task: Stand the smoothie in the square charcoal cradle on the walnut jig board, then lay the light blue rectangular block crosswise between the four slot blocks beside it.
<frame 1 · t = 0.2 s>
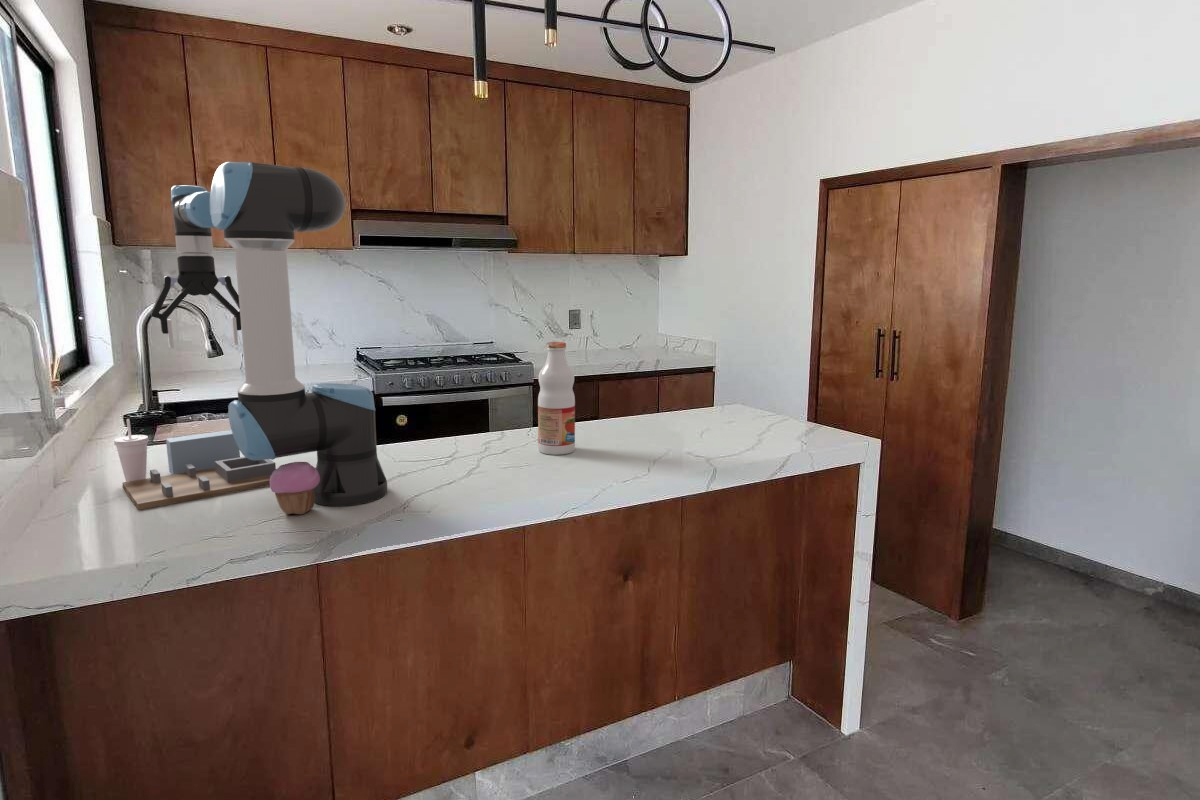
hand: (204, 346, 172), 28 cm above the table, tool pointing down, fingers open, 13 cm apart
fruit juice: (556, 451, 186), on the table
smoothie: (136, 481, 158), on the table
cradle: (246, 478, 161), resting on jig board
cupcake: (297, 513, 139), on the table
jig board: (206, 485, 156), on the table
light blue rectangular block: (205, 469, 168), on the table
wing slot: (180, 489, 152), resting on jig board
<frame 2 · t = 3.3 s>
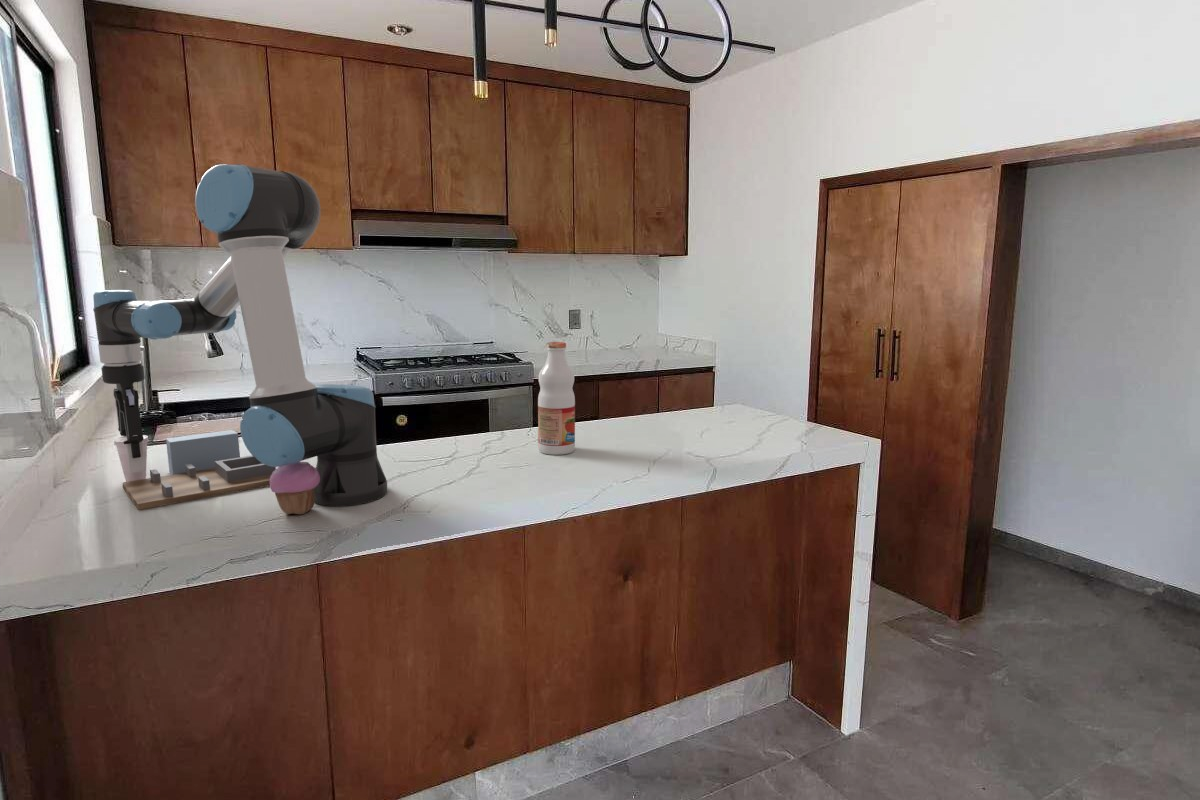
hand: (134, 468, 158), 3 cm above the table, tool pointing down, fingers closed on smoothie, 6 cm apart
smoothie: (136, 481, 158), on the table, touching gripper
everything else where it was.
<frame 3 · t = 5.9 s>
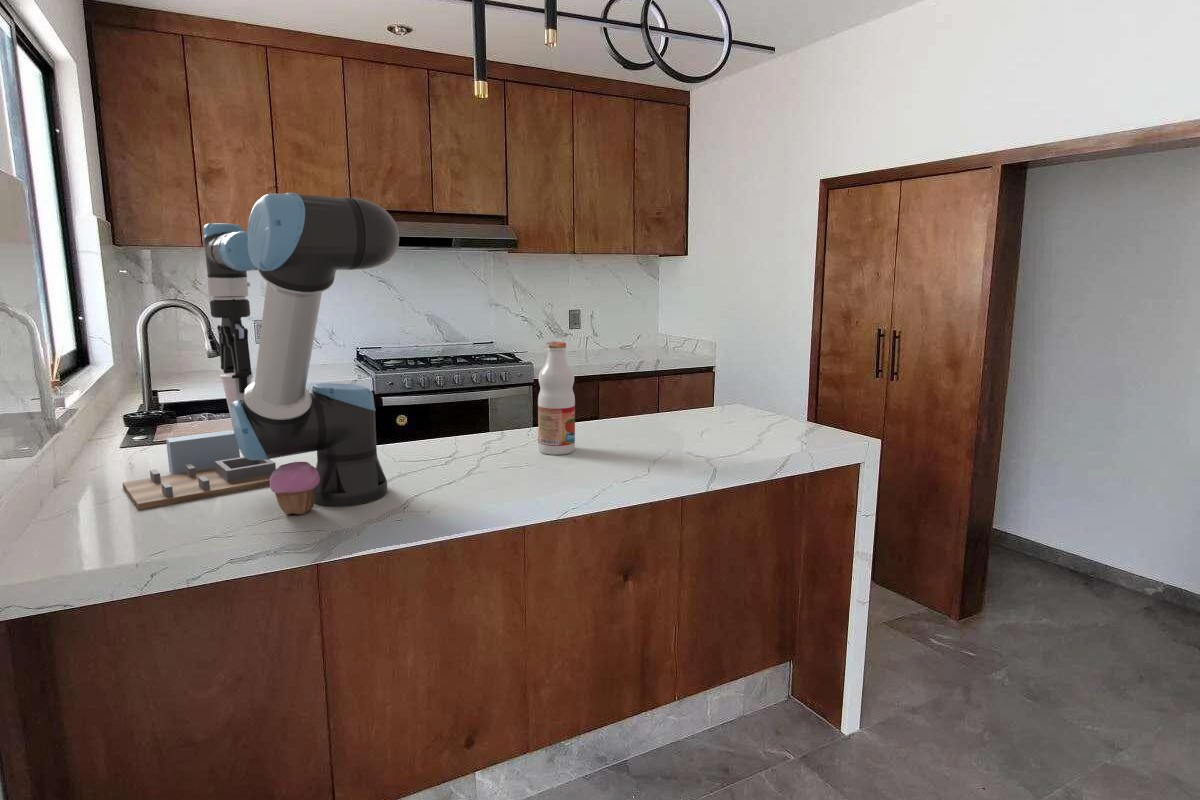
hand: (239, 404, 157), 17 cm above the table, tool pointing down, fingers closed on smoothie, 6 cm apart
smoothie: (240, 418, 158), point 14 cm above the table, touching gripper
everything else where it was.
when the fingers open (5 cm above the table, at t = 8.4 s): smoothie drops 1 cm, resting on jig board.
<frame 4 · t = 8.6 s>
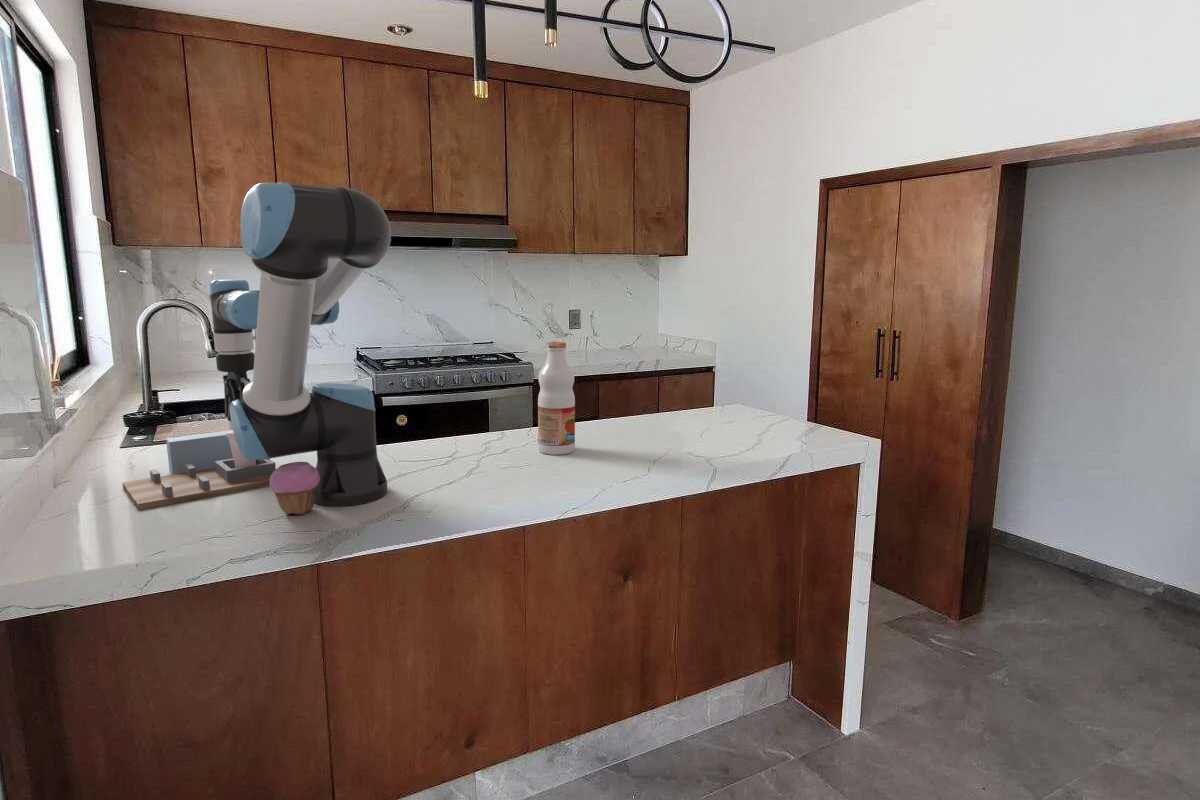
hand: (244, 453, 160), 6 cm above the table, tool pointing down, fingers open, 8 cm apart
smoothie: (246, 473, 161), point 1 cm above the table, touching jig board
everything else where it was.
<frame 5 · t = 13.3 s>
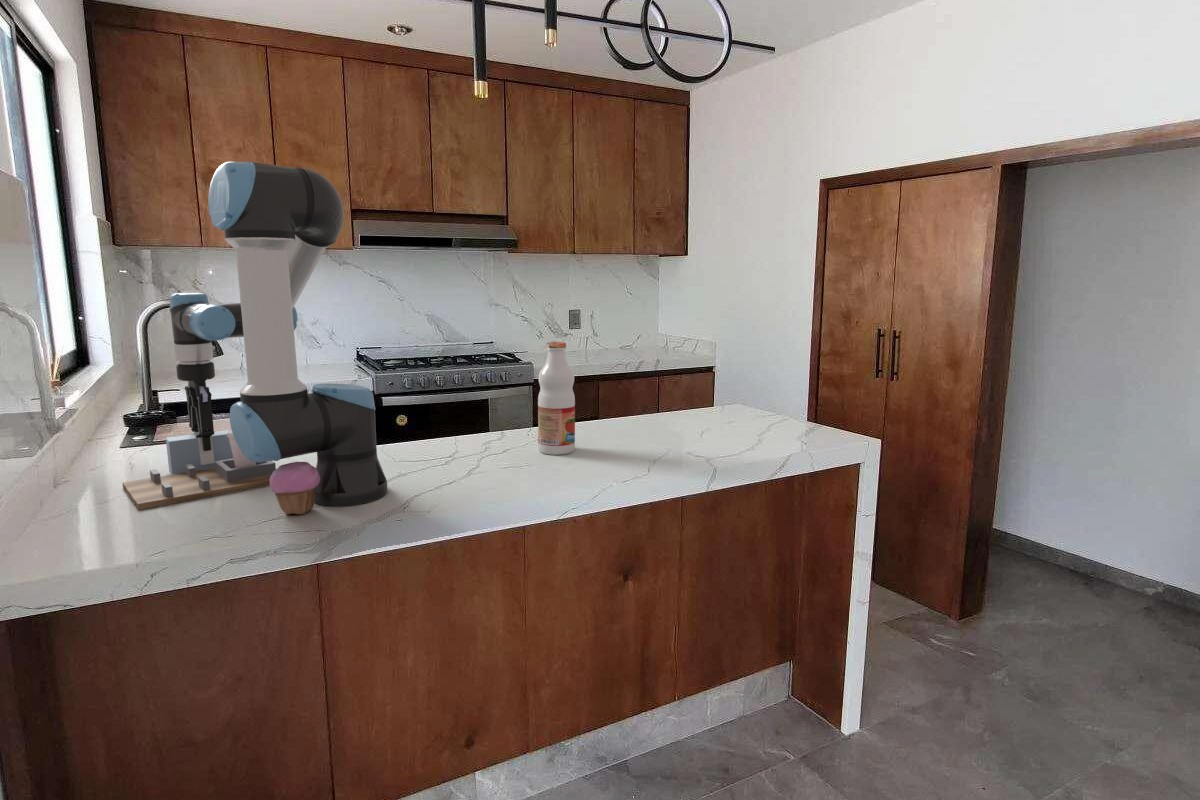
hand: (204, 461, 168), 2 cm above the table, tool pointing down, fingers closed on light blue rectangular block, 5 cm apart
light blue rectangular block: (205, 468, 168), on the table, touching gripper
everything else where it was.
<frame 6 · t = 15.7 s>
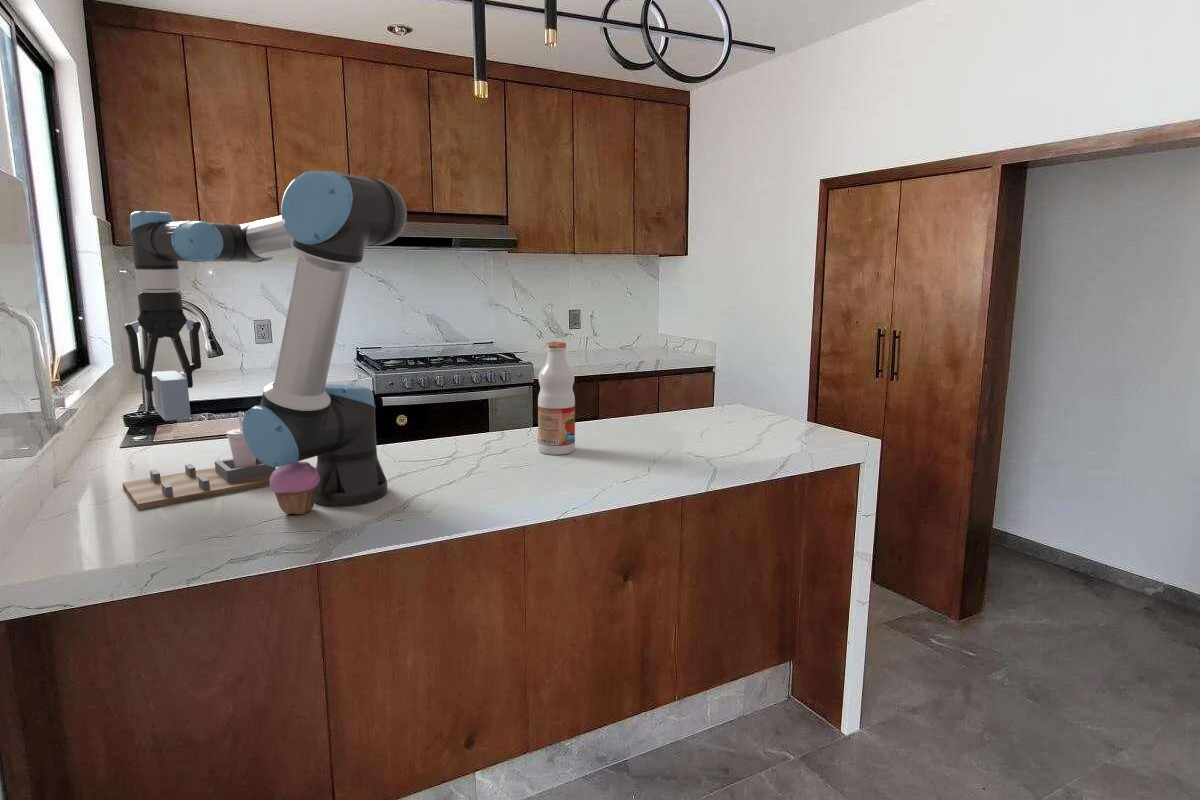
hand: (171, 404, 149), 18 cm above the table, tool pointing down, fingers closed on light blue rectangular block, 5 cm apart
light blue rectangular block: (172, 413, 149), point 16 cm above the table, touching gripper
everything else where it was.
when the fingers open (4 cm above the table, at t = 18.4 s): light blue rectangular block drops 1 cm, resting on jig board.
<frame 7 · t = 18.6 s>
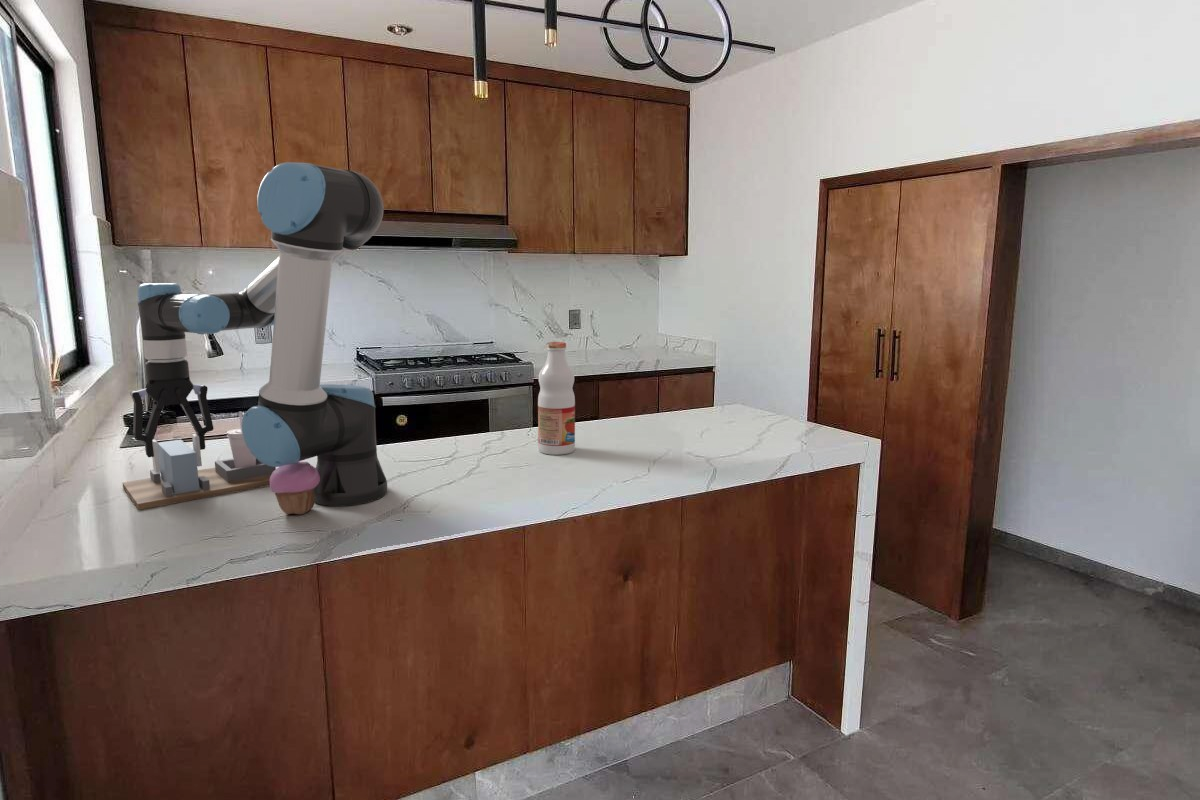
hand: (178, 468, 152), 5 cm above the table, tool pointing down, fingers open, 7 cm apart
light blue rectangular block: (179, 484, 152), point 1 cm above the table, touching jig board
everything else where it was.
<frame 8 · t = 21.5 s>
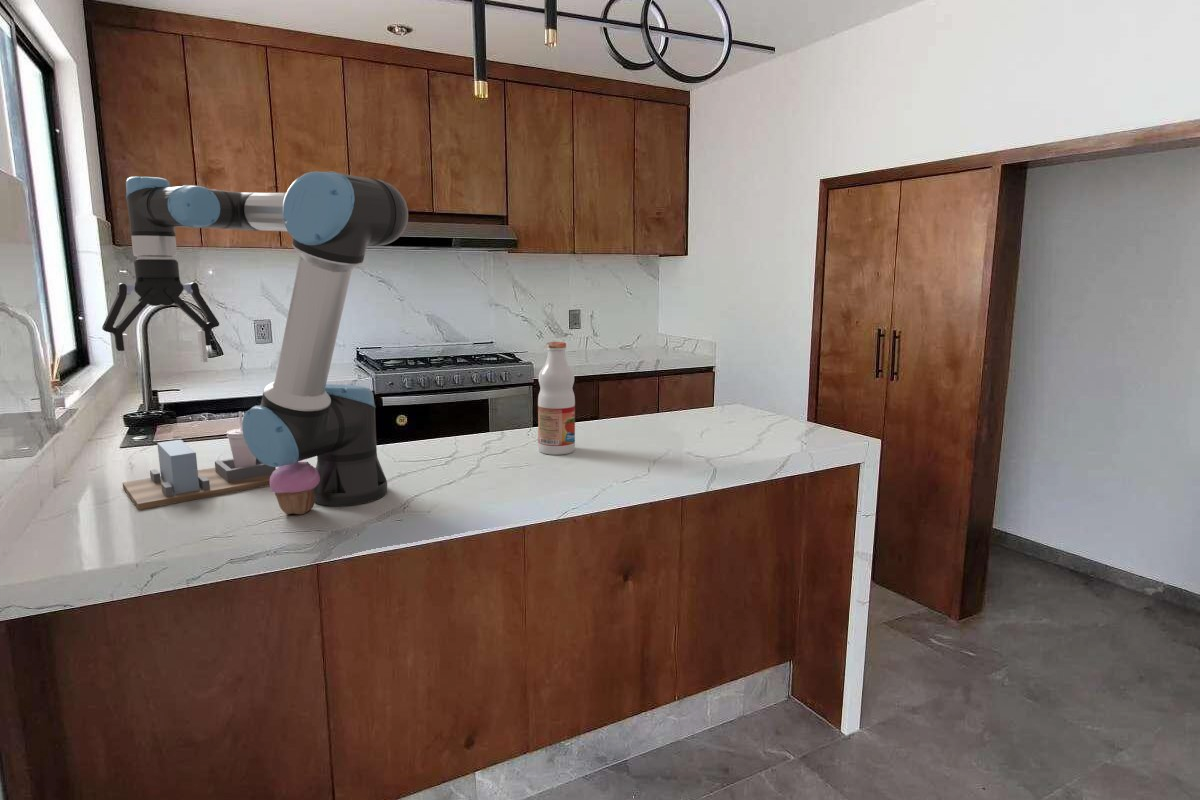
hand: (167, 364, 147), 27 cm above the table, tool pointing down, fingers open, 13 cm apart
nothing on the table moved.
at the end: smoothie 0.1 cm from the cradle (horizontally); smoothie tilted 0°; light blue rectangular block inside the target area on the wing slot (0.0 cm from its centre), point 1.2 cm above the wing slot's base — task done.
